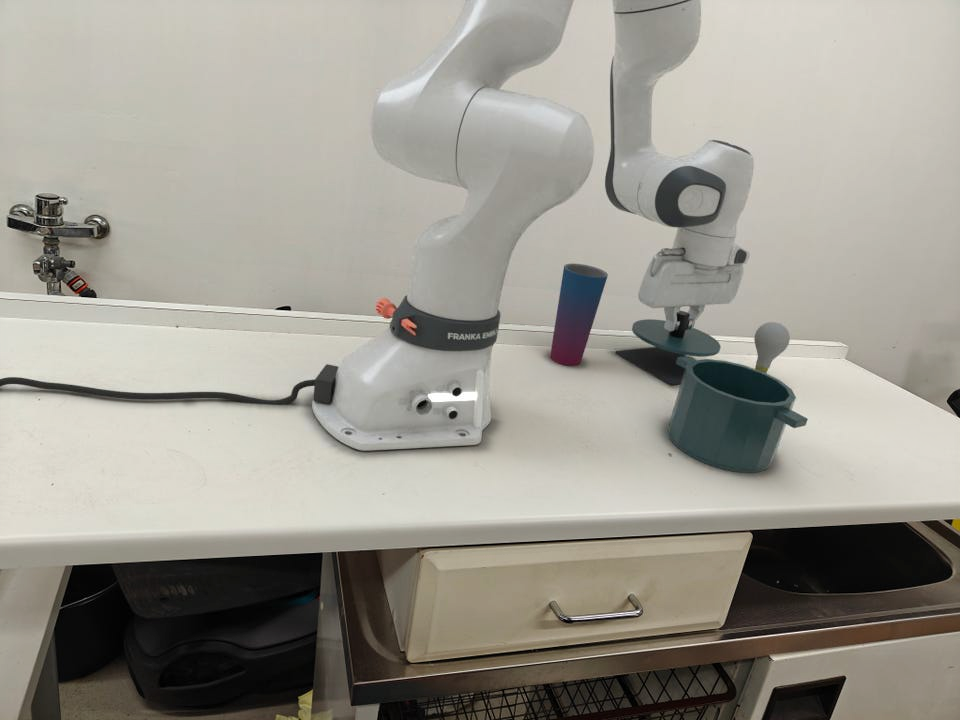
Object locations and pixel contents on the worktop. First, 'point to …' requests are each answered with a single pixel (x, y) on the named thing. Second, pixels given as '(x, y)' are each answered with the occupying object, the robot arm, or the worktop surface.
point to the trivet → (656, 363)
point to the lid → (676, 337)
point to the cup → (576, 311)
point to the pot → (731, 414)
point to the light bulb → (770, 344)
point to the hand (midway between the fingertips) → (678, 329)
